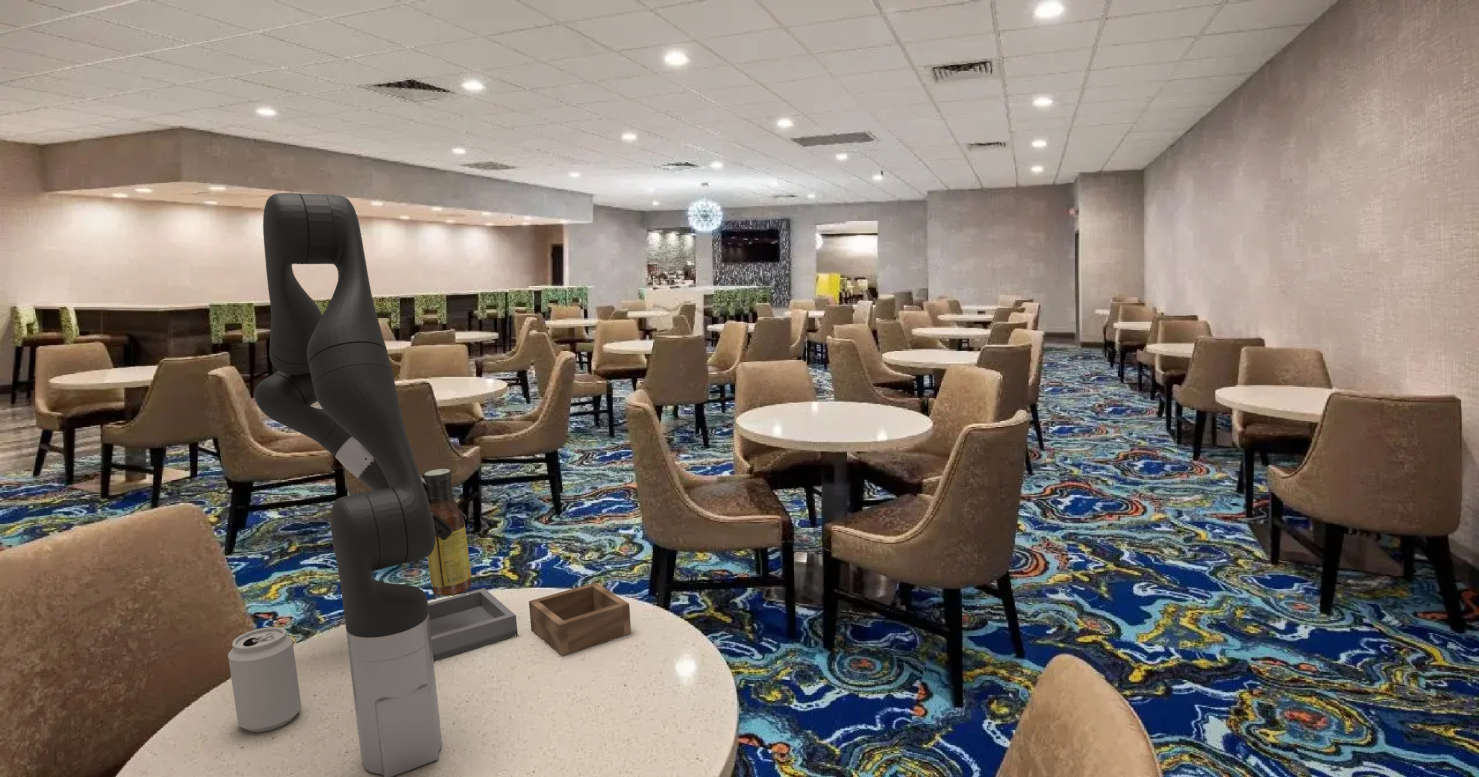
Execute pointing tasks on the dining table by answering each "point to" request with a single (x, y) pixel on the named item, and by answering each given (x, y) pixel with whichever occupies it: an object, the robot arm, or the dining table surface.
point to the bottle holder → (579, 618)
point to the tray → (468, 623)
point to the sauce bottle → (450, 554)
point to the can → (264, 679)
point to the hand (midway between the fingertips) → (456, 528)
